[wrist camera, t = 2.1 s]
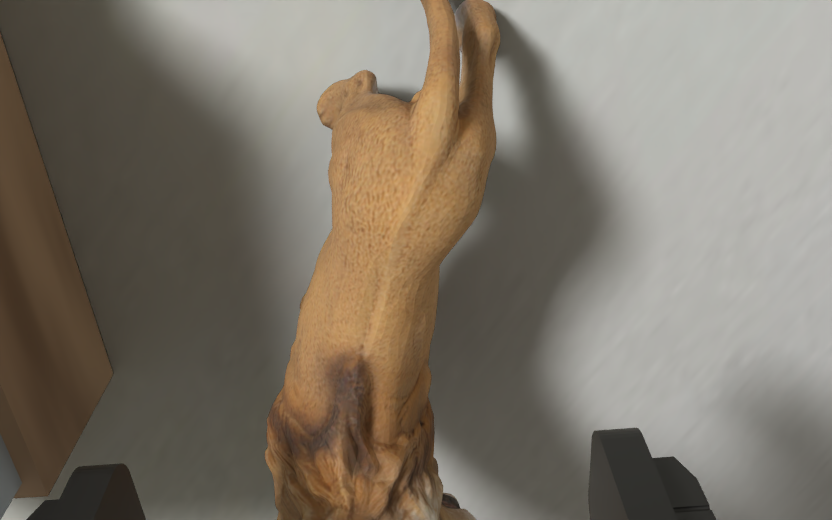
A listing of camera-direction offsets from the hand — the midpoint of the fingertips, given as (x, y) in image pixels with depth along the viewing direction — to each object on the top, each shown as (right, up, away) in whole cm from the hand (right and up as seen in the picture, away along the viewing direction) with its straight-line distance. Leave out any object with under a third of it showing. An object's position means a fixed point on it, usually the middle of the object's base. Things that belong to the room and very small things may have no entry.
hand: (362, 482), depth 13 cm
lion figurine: (0, +5, +8) cm, 10 cm away
